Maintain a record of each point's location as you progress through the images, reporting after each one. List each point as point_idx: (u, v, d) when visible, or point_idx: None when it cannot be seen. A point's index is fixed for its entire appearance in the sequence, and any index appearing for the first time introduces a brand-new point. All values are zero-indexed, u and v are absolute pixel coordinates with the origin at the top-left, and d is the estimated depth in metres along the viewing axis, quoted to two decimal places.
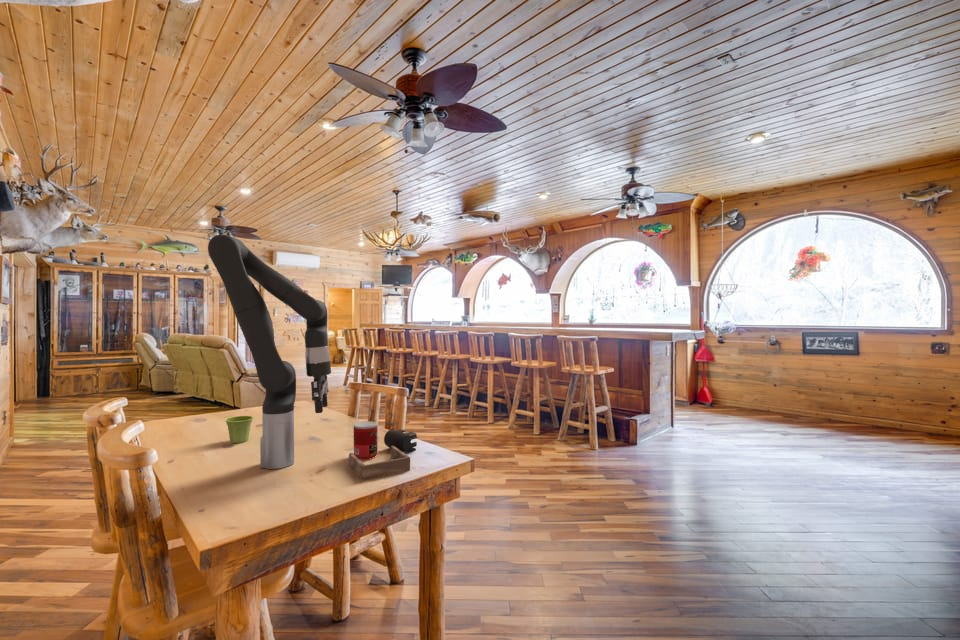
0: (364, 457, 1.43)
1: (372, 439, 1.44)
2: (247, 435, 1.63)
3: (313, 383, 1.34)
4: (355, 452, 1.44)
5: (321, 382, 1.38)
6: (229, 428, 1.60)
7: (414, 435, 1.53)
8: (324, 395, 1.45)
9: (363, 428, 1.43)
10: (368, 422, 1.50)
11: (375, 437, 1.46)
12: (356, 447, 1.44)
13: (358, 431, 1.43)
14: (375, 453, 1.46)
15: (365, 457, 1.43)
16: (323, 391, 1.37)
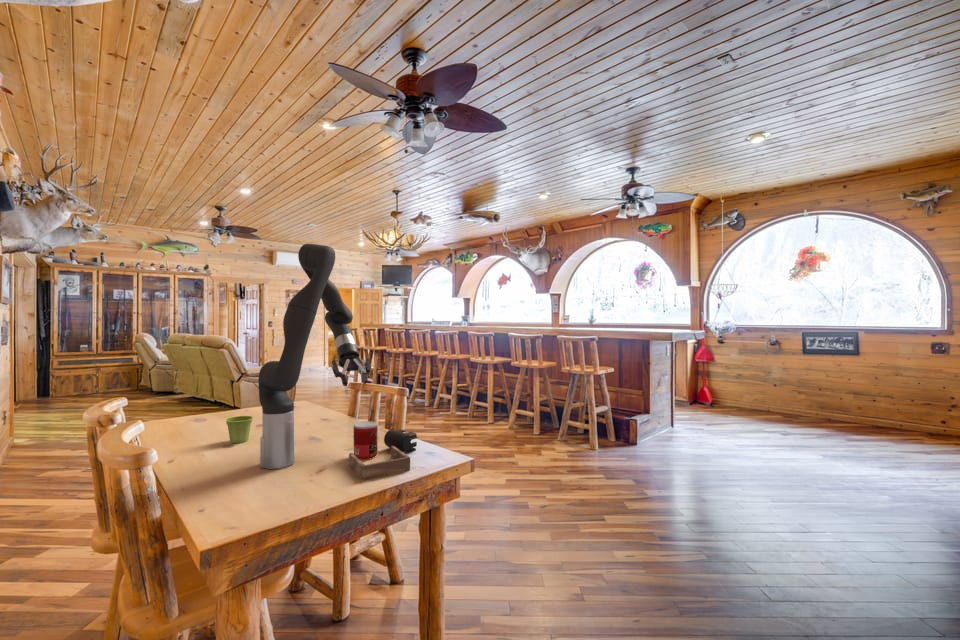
0: (364, 457, 1.43)
1: (372, 439, 1.44)
2: (247, 435, 1.63)
3: None
4: (355, 452, 1.44)
5: None
6: (229, 428, 1.60)
7: (414, 435, 1.53)
8: None
9: (363, 428, 1.43)
10: (368, 422, 1.50)
11: (375, 437, 1.46)
12: (356, 447, 1.44)
13: (358, 431, 1.43)
14: (375, 453, 1.46)
15: (365, 457, 1.43)
16: None
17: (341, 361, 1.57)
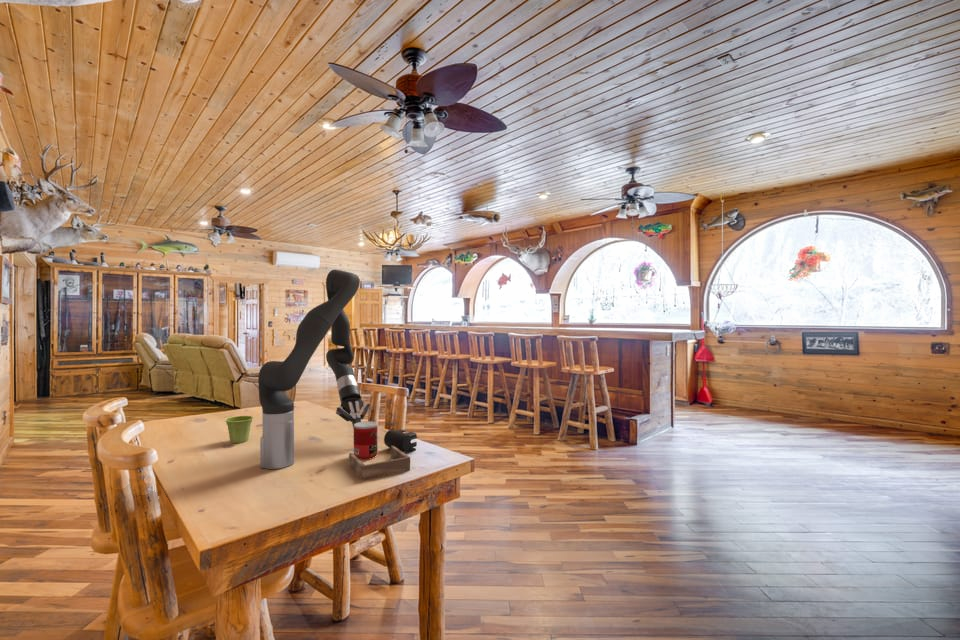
0: (364, 457, 1.43)
1: (372, 439, 1.44)
2: (247, 435, 1.63)
3: (369, 406, 1.62)
4: (355, 452, 1.44)
5: None
6: (229, 428, 1.60)
7: (414, 435, 1.53)
8: None
9: (363, 428, 1.43)
10: (368, 422, 1.50)
11: (375, 437, 1.46)
12: (356, 447, 1.44)
13: (358, 431, 1.43)
14: (375, 453, 1.46)
15: (365, 457, 1.43)
16: None
17: (344, 404, 1.58)
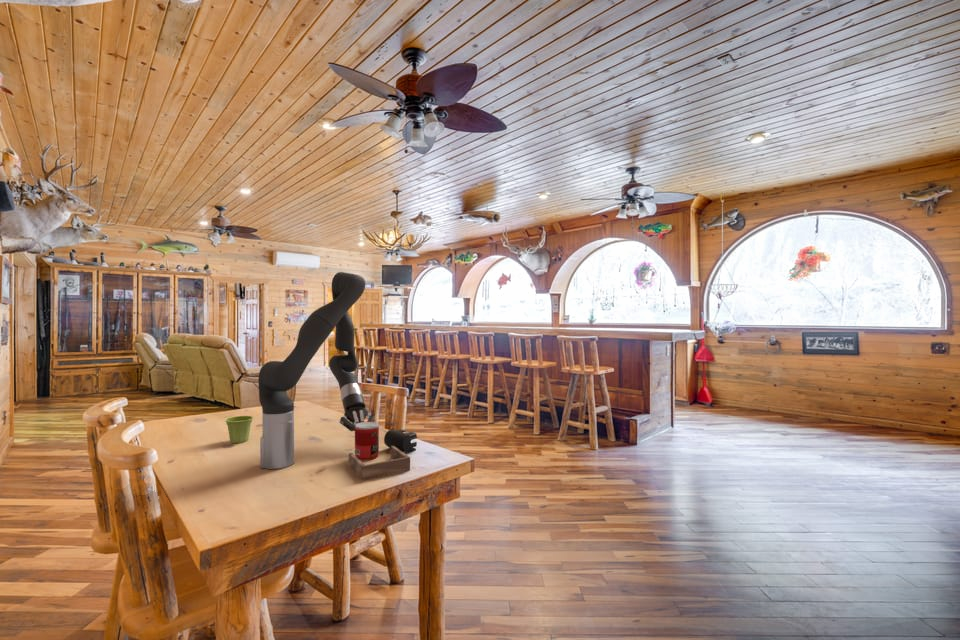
0: (365, 458, 1.42)
1: (373, 440, 1.43)
2: (247, 435, 1.63)
3: None
4: (356, 452, 1.44)
5: None
6: (229, 428, 1.60)
7: (414, 435, 1.53)
8: None
9: (364, 429, 1.42)
10: (369, 423, 1.49)
11: (376, 438, 1.45)
12: (358, 448, 1.43)
13: (359, 432, 1.43)
14: (376, 454, 1.45)
15: (366, 458, 1.43)
16: None
17: (348, 414, 1.53)
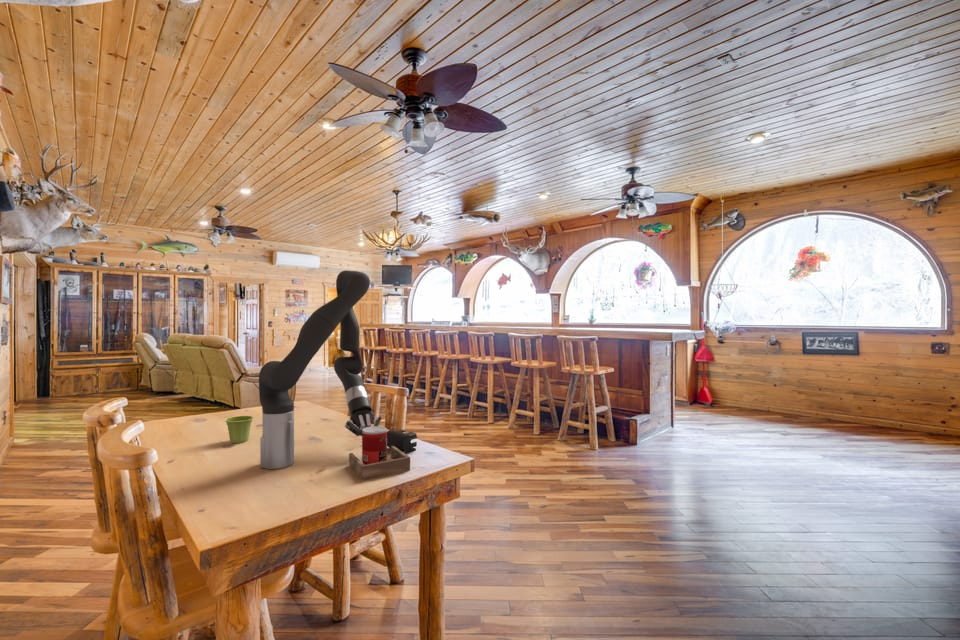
0: None
1: (382, 445, 1.38)
2: (247, 435, 1.63)
3: (380, 419, 1.52)
4: (364, 458, 1.38)
5: None
6: (229, 428, 1.60)
7: (414, 435, 1.53)
8: None
9: (372, 434, 1.36)
10: (377, 427, 1.43)
11: (385, 443, 1.39)
12: (365, 453, 1.37)
13: (367, 437, 1.37)
14: (385, 460, 1.39)
15: None
16: None
17: (354, 418, 1.47)
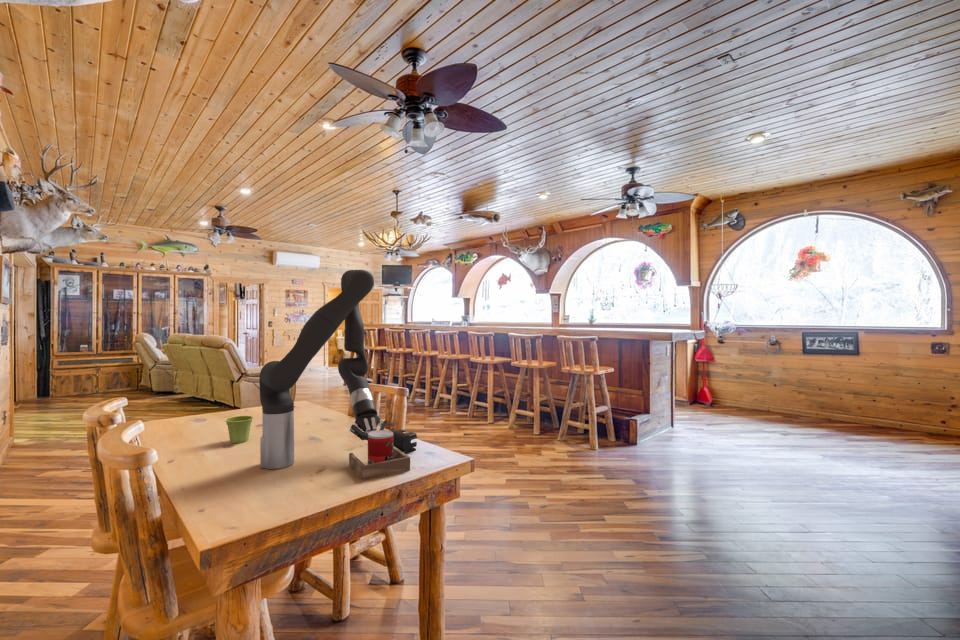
0: None
1: (388, 450, 1.33)
2: (247, 435, 1.63)
3: (386, 423, 1.47)
4: (369, 463, 1.33)
5: None
6: (229, 428, 1.60)
7: (414, 435, 1.53)
8: None
9: (378, 438, 1.32)
10: (383, 431, 1.38)
11: (391, 448, 1.34)
12: (371, 458, 1.33)
13: (373, 441, 1.32)
14: None
15: None
16: None
17: (359, 421, 1.43)
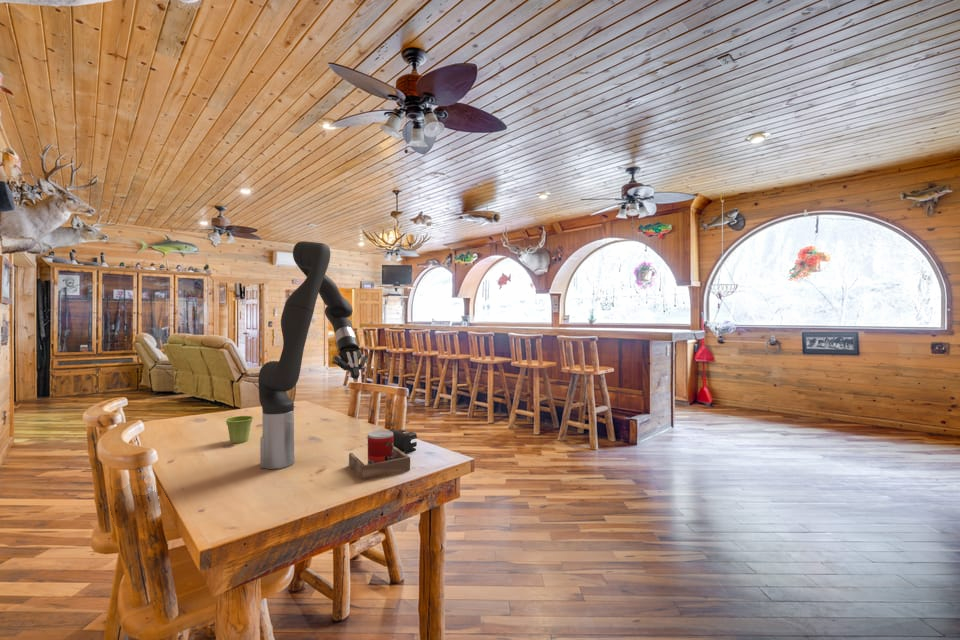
0: None
1: (388, 450, 1.33)
2: (247, 435, 1.63)
3: (367, 357, 1.62)
4: None
5: None
6: (229, 428, 1.60)
7: (414, 435, 1.53)
8: None
9: (378, 438, 1.32)
10: (383, 431, 1.38)
11: (391, 448, 1.34)
12: (371, 458, 1.33)
13: (373, 441, 1.32)
14: None
15: None
16: None
17: (342, 354, 1.57)
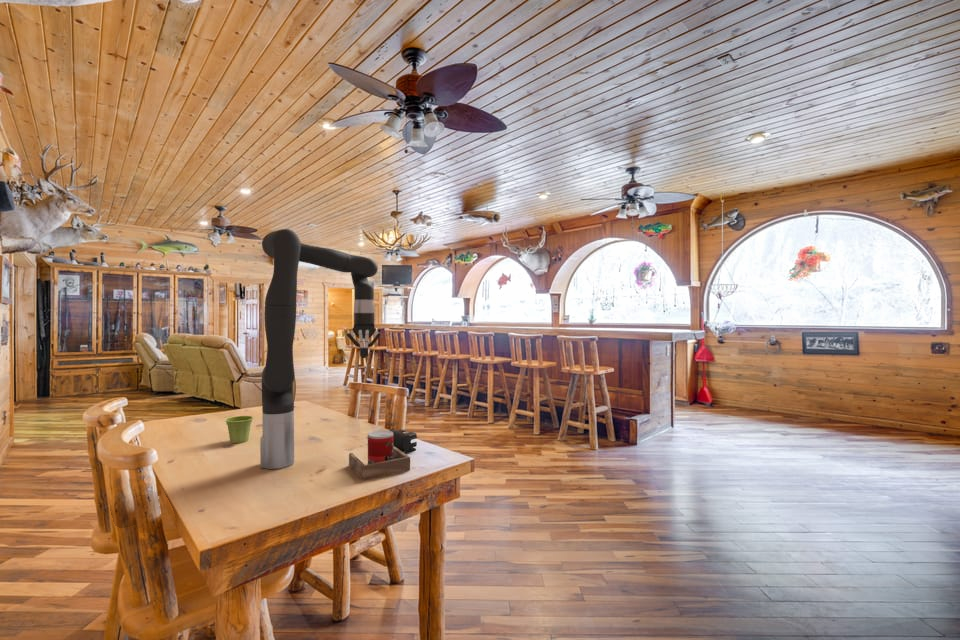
0: None
1: (388, 450, 1.33)
2: (247, 435, 1.63)
3: (380, 335, 1.62)
4: None
5: None
6: (229, 428, 1.60)
7: (414, 435, 1.53)
8: None
9: (378, 438, 1.32)
10: (383, 431, 1.38)
11: (391, 448, 1.34)
12: (371, 458, 1.33)
13: (373, 441, 1.32)
14: None
15: None
16: None
17: (355, 330, 1.60)
